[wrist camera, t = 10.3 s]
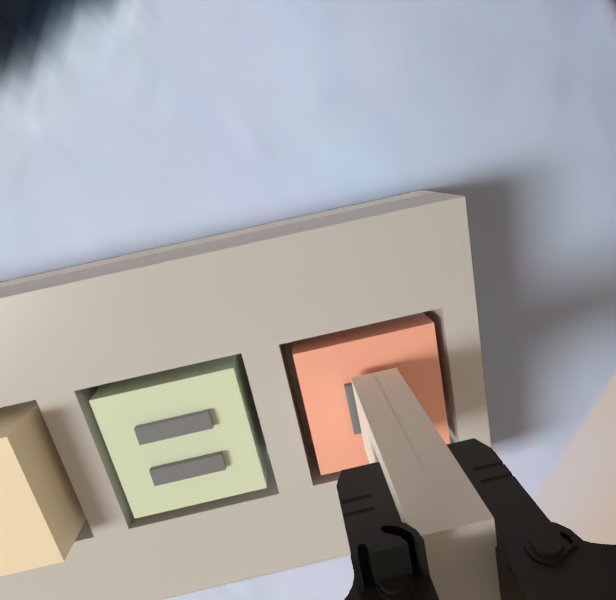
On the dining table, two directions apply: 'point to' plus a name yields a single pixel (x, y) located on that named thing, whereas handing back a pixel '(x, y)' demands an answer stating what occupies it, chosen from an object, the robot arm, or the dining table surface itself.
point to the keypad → (260, 370)
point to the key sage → (183, 435)
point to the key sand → (33, 494)
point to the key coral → (360, 361)
